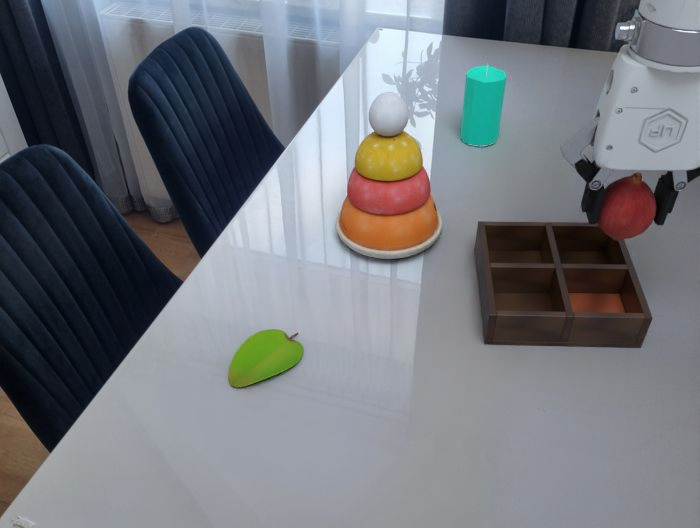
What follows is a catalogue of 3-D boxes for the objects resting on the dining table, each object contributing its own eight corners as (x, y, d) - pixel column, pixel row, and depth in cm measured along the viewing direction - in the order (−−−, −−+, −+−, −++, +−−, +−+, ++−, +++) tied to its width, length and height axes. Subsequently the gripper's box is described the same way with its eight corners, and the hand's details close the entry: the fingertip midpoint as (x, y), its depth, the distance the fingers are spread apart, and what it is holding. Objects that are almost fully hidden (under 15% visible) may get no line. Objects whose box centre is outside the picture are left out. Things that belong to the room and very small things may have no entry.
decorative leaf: (311, 377, 75) (311, 371, 75) (231, 391, 74) (230, 386, 73) (296, 327, 80) (296, 321, 79) (221, 339, 78) (220, 334, 78)
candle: (483, 151, 107) (493, 76, 98) (452, 139, 110) (459, 64, 101) (505, 136, 110) (516, 62, 101) (474, 125, 113) (482, 51, 104)
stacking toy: (455, 257, 89) (470, 116, 74) (348, 274, 87) (342, 133, 73) (424, 197, 98) (432, 63, 84) (327, 211, 96) (319, 76, 82)
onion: (578, 243, 72) (596, 177, 66) (599, 216, 75) (617, 151, 69) (633, 262, 69) (657, 195, 63) (652, 234, 72) (675, 167, 67)
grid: (609, 251, 88) (618, 222, 85) (641, 347, 76) (652, 318, 73) (474, 250, 90) (478, 221, 86) (484, 344, 78) (489, 315, 74)
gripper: (581, 56, 55) (542, 238, 68) (804, 55, 54) (720, 240, 67) (567, 20, 60) (533, 195, 73) (769, 19, 59) (698, 197, 72)
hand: (623, 215), depth 70 cm, fingers closed on onion, 5 cm apart
